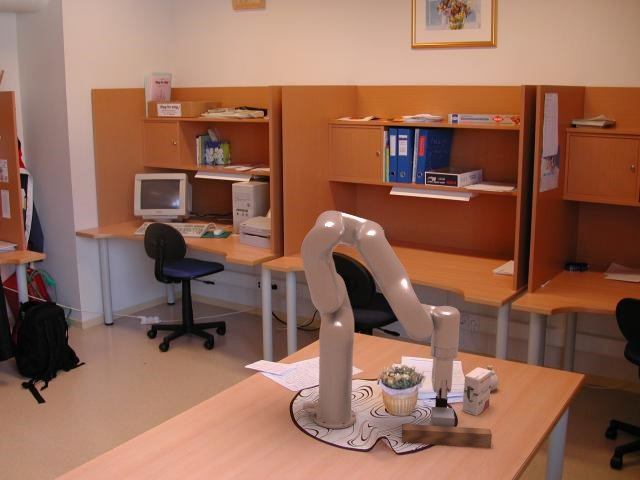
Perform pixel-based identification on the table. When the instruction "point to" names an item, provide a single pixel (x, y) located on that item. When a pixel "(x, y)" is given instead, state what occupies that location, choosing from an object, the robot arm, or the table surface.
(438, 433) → the board
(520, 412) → the table surface
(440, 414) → the block
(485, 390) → the ink box
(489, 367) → the ornament
